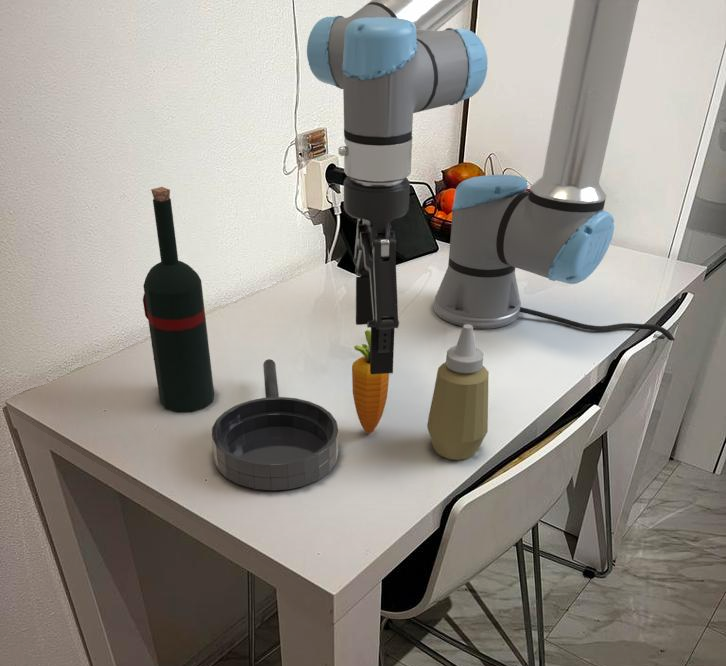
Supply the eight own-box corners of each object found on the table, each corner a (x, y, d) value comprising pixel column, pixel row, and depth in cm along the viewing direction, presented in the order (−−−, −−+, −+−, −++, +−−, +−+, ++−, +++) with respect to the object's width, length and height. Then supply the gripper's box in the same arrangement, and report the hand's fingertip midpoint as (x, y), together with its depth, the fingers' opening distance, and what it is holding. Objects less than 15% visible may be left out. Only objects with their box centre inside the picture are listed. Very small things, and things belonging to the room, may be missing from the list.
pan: (331, 419, 113) (331, 394, 111) (344, 487, 100) (344, 460, 98) (215, 426, 111) (212, 400, 109) (214, 496, 98) (210, 468, 96)
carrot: (383, 445, 108) (387, 345, 99) (347, 440, 109) (348, 341, 100) (389, 426, 112) (394, 328, 103) (355, 422, 113) (356, 324, 104)
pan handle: (275, 367, 120) (274, 356, 119) (279, 409, 110) (279, 398, 109) (263, 368, 120) (262, 357, 119) (266, 410, 110) (266, 398, 109)
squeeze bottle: (496, 448, 108) (514, 326, 97) (461, 473, 103) (475, 347, 93) (449, 426, 112) (460, 306, 102) (413, 449, 108) (421, 326, 97)
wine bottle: (183, 374, 123) (156, 173, 105) (225, 398, 117) (205, 189, 100) (139, 393, 118) (104, 185, 100) (182, 418, 113) (152, 203, 95)
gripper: (332, 148, 99) (333, 306, 112) (358, 215, 80) (356, 398, 93) (391, 146, 100) (386, 304, 113) (432, 212, 81) (420, 394, 93)
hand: (373, 346), depth 103 cm, fingers open, 13 cm apart
